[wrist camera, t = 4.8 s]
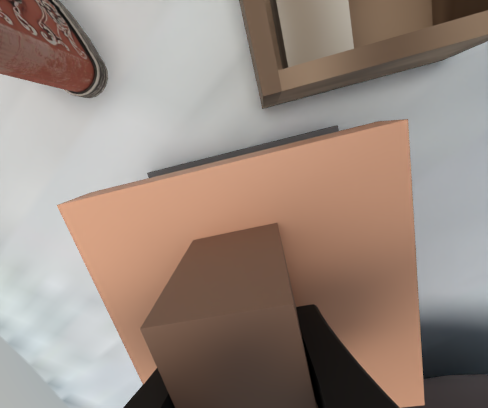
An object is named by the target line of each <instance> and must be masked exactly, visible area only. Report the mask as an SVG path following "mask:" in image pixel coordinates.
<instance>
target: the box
mask: <svg viewBox="0 0 488 408" xmlns="http://www.w3.org/2000/svg"><path fill="white" fill-rule="evenodd" d="M239 1H240V6H241V11H242V15H243V20H244V25H245V29H246V34H247V39H248V43H249V48H250V53H251V57H252V62H253V67H254V72H255V76H256V81H257V86H258V90H259V95H260V100H261V104H262V109H263V108H267V107H271V106H274V105H278V104H282V103H286V102H289V101H293V100H297V99H300V98H304V97H308V96H312V95H315V94H319V93H323V92H326V91H330V90H334V89H337V88H341V87H345V86H349V85H352V84H356V83H360V82H363V81H367V80H371V79H375V78H378V77H382V76H386V75H389V74H393V73H397V72H401V71H404V70H408V69H412V68H415V67H419V66H423V65H427V64H430V63H434V62H438V61H441V60H444V59H447V58H449V57H451V56H454V55H456V54H458V53H461V52H463V51H465V50H468V49H470V48H472V47H475V46H477V45H479V44H482V43H484V42H486V41H488V0H239Z"/></svg>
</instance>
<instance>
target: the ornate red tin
mask: <svg viewBox="0 0 488 408" xmlns="http://www.w3.org/2000/svg"><path fill="white" fill-rule="evenodd" d="M0 74H3V75H7V76H12V77H16V78H20V79H24V80H28V81H32V82H36V83H40V84H44V85H48V86H52V87H57V88H61V89H64V90H65V91H66V92H68V93H70V94H72V95H75V96H80V97H85V98H92V97H96V96H97V95H99V94H100V93H101V92H102V91H103V89H104V88H105V86H106V83H107V79H108V76H107V69H106V67H105V64H104V62H103V61H102V59H101V57H100V56H99V54H98V52H97V51H96V49H95V47H94V46H93V44H92V42H91V41H90V39H89V38H88V36H87V35H86V33H85V32H84V31H83V29H82V28H81V27H80V25H79V24H78V23H77V21H76V20H75V19H74V17H73V16H72V15H71V13H70V12H69V11H68V10H67V9H66V8H65V7H64V6H63V5H62V3H61V2H60V1H59V0H0Z"/></svg>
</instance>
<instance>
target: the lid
mask: <svg viewBox="0 0 488 408" xmlns="http://www.w3.org/2000/svg"><path fill="white" fill-rule="evenodd" d="M57 206H58V209H59V211H60V213H61V215H62V217H63V219H64V221H65V223H66V225H67V227H68V229H69V231H70V234H71V236H72V238H73V240H74V242H75V244H76V246H77V248H78V250H79V252H80V254H81V256H82V259H83V261H84V263H85V265H86V267H87V269H88V271H89V273H90V275H91V277H92V279H93V281H94V283H95V286H96V288H97V290H98V292H99V294H100V296H101V298H102V300H103V302H104V304H105V306H106V308H107V311H108V313H109V315H110V317H111V319H112V321H113V323H114V325H115V327H116V329H117V331H118V333H119V335H120V338H121V340H122V342H123V344H124V346H125V348H126V350H127V352H128V354H129V356H130V358H131V360H132V363H133V365H134V367H135V369H136V371H137V373H138V375H139V377H140V379H141V381H142V383H143V384H144V383H145V382H146V381H147V380H148V378H149V377H150V376H151V375H152V373H153V372H154V371H155V370H156V368H158V371H159V373H160V375H161V377H162V379H163V382H164V384H165V386H166V388H167V391H168V393H169V395H170V397H171V400H172V402H173V404H174V406H175V408H318V405H317V401H316V397H315V393H314V388H313V384H312V379H311V375H310V370H309V366H308V361H307V357H306V353H305V348H304V344H303V339H302V335H301V330H300V326H299V321H298V316H297V310H296V307H299V306H305V305H311V304H314V305H316V306H317V307H318V309H319V311H320V312H321V314H322V316H323V317H324V319H325V320H326V322H327V323H328V325H329V326H330V327H331V329H332V330H333V332H334V333H335V334H336V336H337V337H338V338H339V340H340V341H341V342H342V343H343V345H344V346H345V347H346V348H347V350H348V351H349V352H350V353H351V354H352V356H353V357H354V358H355V359H356V360H357V362H358V363H359V364H360V365H361V366H362V367H363V369H364V370H365V371H366V372H367V373H368V374H369V375H370V376H371V378H372V379H373V380H374V381H375V382H376V383H377V384H378V385H379V386H380V387H381V389H382V390H383V391H384V392H385V393H386V394H387V395H388V396H389V397H390V398H391V399H392V400H393V401H394V402H395V403H396V404H397V405H398V406H399V407H400V408H402V407H412V406H422V405H425V401H424V384H423V367H422V350H421V333H420V316H419V299H418V282H417V265H416V248H415V231H414V214H413V197H412V180H411V163H410V146H409V130H408V119H405V120H391V121H378V122H374V123H370V124H366V125H362V126H358V127H354V128H350V129H346V130H342V131H338V132H334V133H330V134H326V135H322V136H318V137H313V138H309V139H305V140H301V141H297V142H293V143H289V144H285V145H281V146H277V147H273V148H269V149H265V150H261V151H257V152H253V153H249V154H245V155H241V156H237V157H233V158H229V159H225V160H221V161H217V162H213V163H208V164H204V165H200V166H196V167H192V168H188V169H184V170H180V171H176V172H172V173H168V174H164V175H160V176H156V177H152V178H148V179H144V180H140V181H136V182H132V183H128V184H124V185H120V186H116V187H112V188H107V189H103V190H99V191H95V192H91V193H89V194H86V195H83V196H80V197H78V198H75V199H72V200H70V201H67V202H64V203H62V204H59V205H57Z"/></svg>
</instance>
